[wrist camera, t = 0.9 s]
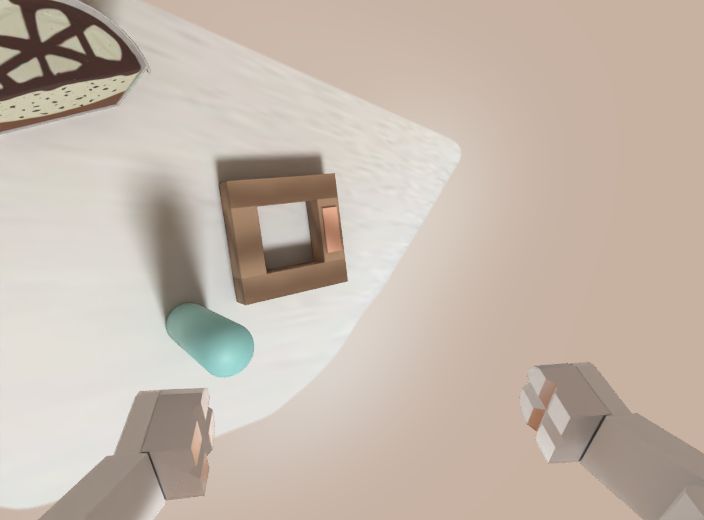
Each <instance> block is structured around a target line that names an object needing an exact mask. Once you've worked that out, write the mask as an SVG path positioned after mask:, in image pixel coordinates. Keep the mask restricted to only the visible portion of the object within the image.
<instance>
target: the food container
mask: <svg viewBox="0 0 704 520" xmlns="http://www.w3.org/2000/svg"><path fill="white" fill-rule="evenodd" d="M145 70H147V72H148V74H150V73H151V71H150V67H149V65H148V63H147V61H146V59H145V57H144V55H143V54H142V53H141V51H140V50H139V48H138V47H137V46H136V44H135V43H134V42H133V41H132V39H131V38H130V37H129V36H128V35H127V34H126V33H125V32H124V31H123V30H122V29H121V28H120V27H119V26H118V25H116V24H115V23H114V22H113V21H112V20H111V19H109V18H108V17H106V16H105V15H103V14H102V13H100V12H99V11H97V10H96V9H94V8H92V7H91V6H89V5H87V4H85V3H83V2H81V1H79V0H0V135H1V134H5V133H9V132H13V131H17V130H22V129H26V128H30V127H34V126H38V125H42V124H46V123H50V122H54V121H58V120H63V119H67V118H71V117H75V116H79V115H83V114H87V113H91V112H95V111H100V110H104V109H108V108H112V107H116V106H119V104H120V103H121V102H122V100H123V99H124V98H125V96H126V95H127V94H128V92H129V91H130V90H131V88H132V87H133V86H134V85H135V83H136V82H137V81H138V79H139V78H140V77H141V75H142V74H143V73H144V71H145Z"/></svg>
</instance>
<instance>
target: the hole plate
mask: <svg viewBox="0 0 704 520" xmlns="http://www.w3.org/2000/svg"><path fill="white" fill-rule="evenodd" d="M219 188H220V195H221V201H222V208H223V214H224V221H225V227H226V234H227V240H228V247H229V253H230V259H231V266H232V272H233V279H234V285H235V292H236V298H237V302H238V303H241V304H244V305H248V304H253V303H257V302H261V301H265V300H270V299H274V298H278V297H282V296H287V295H291V294H295V293H300V292H304V291H308V290H312V289H317V288H321V287H325V286H329V285H334V284H338V283H342V282H347V281H348V279H347V271H346V263H345V254H344V246H343V238H342V229H341V221H340V213H339V205H338V196H337V188H336V180H335V173H333V174H319V175H304V176H290V177H276V178H262V179H247V180H233V181H225V182H222V183H220V184H219ZM303 201H306V204H307V212H308V220H309V227H310V235H311V243H312V250H313V258H314V261H313V262H308V263H303V264H298V265H293V266H288V267H282V268H277V269H272V270H267V271H266V266H265V259H264V252H263V245H262V238H261V231H260V224H259V217H258V210H257V206H266V205H275V204H284V203H294V202H303Z"/></svg>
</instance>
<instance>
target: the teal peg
mask: <svg viewBox="0 0 704 520" xmlns="http://www.w3.org/2000/svg"><path fill="white" fill-rule="evenodd" d="M166 329H167V332H168V334H169V336H170V337H171V338H172V339H173V340H174V341H175V342H176V343H177V344H178V345H179V346H180V347H181V348H183V349H184V350H185V351H186V352H187V353H188V354H189V355H190V356H191V357H192V358H194V359H195V360H196V361H197V362H198V363H199V364H200V365H201V366H202V367H203V368H205V369H206V370H207V371H208V372H209V373H211V374H212V375H214V376H217V377H230V376H233V375H236V374H238V373H239V372H241V371H242V370H243V369H244V368H245V367H246V366H247V365H248V364H249V362H250V360H251V358H252V356H253V352H254V341H253V338H252V335H251V334H250V332H249V331H248V330H247V329H246V328H245V327H244V326H242V325H240V324H238V323H236V322H234V321H231V320H229V319H227V318H225V317H223V316H221V315H219V314H217V313H215V312H213V311H211V310H209V309H207V308H204V307H202V306H200V305H198V304H195V303H184V304H181V305H179V306H177V307H176V308H174V309H173V310H172V311H171V313H170V314H169V316H168V318H167V322H166Z"/></svg>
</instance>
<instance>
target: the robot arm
mask: <svg viewBox="0 0 704 520" xmlns="http://www.w3.org/2000/svg"><path fill="white" fill-rule="evenodd" d="M527 377H528V379H529V381H530V382H529V383H528V384H527V385H525V386H524V387H523V388H522V391H521V394H520V408H521V412H522V415H523V417H524V419H525V421H526V423H527V425H529V426H530V427H532V428H533V429H534V430H536V431H537V433H536V438H535V440H536V442H537V444H538V446H539V448H540V450H541V452H542V454H543V456H544V458H545V459H546V461H547V463H548V464H551V463H566V462H580V464H581V465H582V466H583V467H584V468H585V469H587V470H588V471H589V472H590V473H591V474H592V475H593V476H595V477H596V478H597V479H598V480H599V481H600V482H602V484H604V485H605V486H606V487H607V488H608V489H609V490H610V491H612V492H613V493H614V494H615V495H616V496H617V497H618V498H619V499H621V500H622V501H623V502H624V503H625V504H626V505H628V506H629V507H630V508H631V509H632V510H633V511H634V512H635V513H637V514H638V515H639V516H640V517H641V518H642V519H643V520H704V454H703V453H702V452H700V451H699V450H697V449H695V448H694V447H692V446H690V445H689V444H687V443H685V442H684V441H682V440H680V439H679V438H677V437H676V436H674V435H672V434H670V433H669V432H667V431H666V430H664V429H662V428H661V427H659V426H657V425H656V424H654V423H652V422H651V421H649V420H648V419H646V418H644V417H643V416H641V415H639V414H638V413H634V414H632V413H631V412H630V411H629V409H628V408H627V407H626V406H625V404H624V403H623V402H622V400H621V399H620V398H619V397H618V395H617V394H616V393H615V391H614V390H613V389H612V388H611V386H610V385H609V384H608V382H607V381H606V380H605V379H604V377H603V376H602V375H601V373H600V372H599V371H598V370H597V368H596V367H595V366H594V365H593V364H591V363H590V362H586V363H571V364H568V363H566V364H554V365H540V366H533V367H532V368H530V369H529V372H528V374H527ZM209 400H210V396H209V393H208V389H207V388H195V389H170V390H152V391H140V392H139V393H138V394H137V396H136V397H135V399H134V401H133V404H132V407H131V409H130V412H129V415H128V418H127V420H126V423H125V426H124V428H123V431H122V434H121V436H120V439H119V442H118V444H117V447H116V450H115V452H114V455H113V456H106V457H105V458H104V459H103V460H102V461H101V462H100V463H98V464H97V465H96V466H95V467H94V468H93V469H92V470H91V471H90V472H89V473H88V474H87V475H86V476H85V477H83V478H82V479H81V480H80V481H79V482H78V483H77V484H76V485H75V486H74V487H73V488H72V489H71V490H69V491H68V492H67V493H66V494H65V495H64V496H63V497H62V498H61V499H60V500H59V501H58V502H57V503H56V504H54V505H53V506H52V507H51V508H50V509H49V510H48V511H47V512H46V513H45V514H44V515H43V516H42V517H40V518H39V519H38V520H153V519H154V518H155V517H156V515H157V514H158V513H159V511H160V510H161V509H162V507H163V506H164V504H165V503H166V501H165V500H172V499H181V498H189V497H197V496H204V495H205V489H206V483H207V478H208V472H209V465H208V461H207V455H208V454H209V453H210V452H211V451H212V448H213V441H214V428H215V425H214V415H213V410H212V409H211V408H209V407H208V405H209Z"/></svg>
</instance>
